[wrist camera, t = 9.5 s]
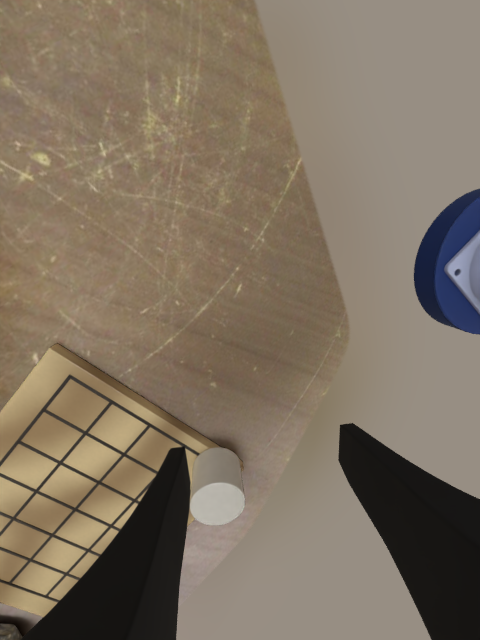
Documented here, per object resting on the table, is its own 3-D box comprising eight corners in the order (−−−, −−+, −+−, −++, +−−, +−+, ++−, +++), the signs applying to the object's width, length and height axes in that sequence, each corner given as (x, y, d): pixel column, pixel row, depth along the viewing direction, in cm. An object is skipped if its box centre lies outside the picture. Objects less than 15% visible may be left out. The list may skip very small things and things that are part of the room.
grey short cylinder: (249, 461, 22) (256, 498, 19) (220, 492, 23) (222, 533, 19) (212, 438, 21) (213, 474, 18) (182, 472, 22) (178, 512, 18)
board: (242, 460, 23) (244, 470, 22) (88, 617, 26) (83, 632, 25) (57, 342, 19) (48, 348, 18) (-103, 550, 22) (-118, 565, 21)
